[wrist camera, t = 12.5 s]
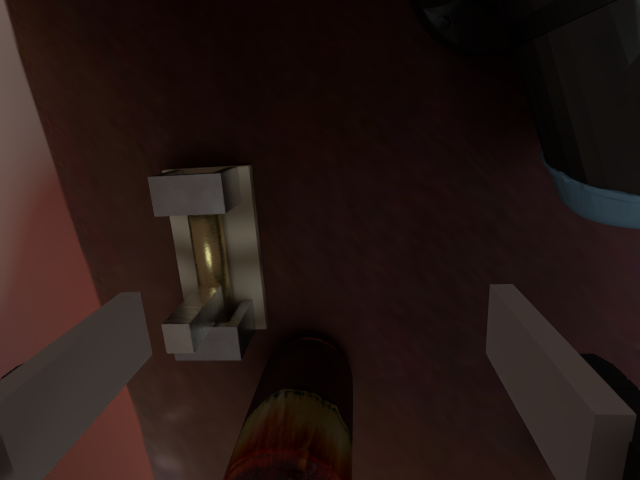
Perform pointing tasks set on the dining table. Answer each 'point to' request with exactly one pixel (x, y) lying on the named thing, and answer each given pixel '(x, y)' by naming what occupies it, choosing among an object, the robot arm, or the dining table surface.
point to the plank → (229, 247)
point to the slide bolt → (202, 288)
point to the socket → (226, 337)
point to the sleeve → (195, 192)
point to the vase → (298, 417)
